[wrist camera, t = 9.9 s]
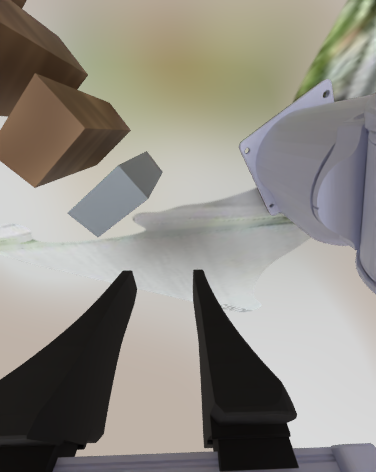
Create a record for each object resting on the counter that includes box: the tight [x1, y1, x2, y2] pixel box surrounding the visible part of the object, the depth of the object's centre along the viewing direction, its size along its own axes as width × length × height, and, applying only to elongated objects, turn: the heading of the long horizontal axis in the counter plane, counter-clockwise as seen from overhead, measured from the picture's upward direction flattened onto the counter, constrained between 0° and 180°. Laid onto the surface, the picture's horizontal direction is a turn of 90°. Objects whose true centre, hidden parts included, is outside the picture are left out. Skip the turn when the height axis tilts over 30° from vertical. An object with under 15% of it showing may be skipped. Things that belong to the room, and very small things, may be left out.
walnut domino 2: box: [0, 73, 131, 187], centre depth 11 cm, size 2×5×8 cm, turn 126°
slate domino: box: [68, 151, 162, 237], centre depth 13 cm, size 2×5×8 cm, turn 126°
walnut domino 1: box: [0, 0, 88, 117], centre depth 9 cm, size 2×5×8 cm, turn 126°
